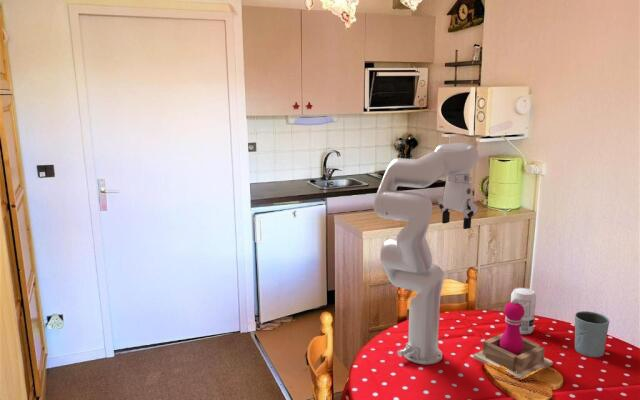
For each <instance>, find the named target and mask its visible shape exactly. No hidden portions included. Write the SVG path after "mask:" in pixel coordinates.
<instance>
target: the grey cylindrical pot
mask: <svg viewBox="0 0 640 400" xmlns="http://www.w3.org/2000/svg"><path fill="white" fill-rule="evenodd" d="M609 326H610V319H609V318H608V317H607V316H606V315H603V314H601V313H598V312H594V311H586V310H585V311H577V312H575V314H574V329H575V330H574V336H575V337H574V350H575V351H576V352H577V353H579V354H580V355H583V356H586V357H590V358H601V357H602V356H604V354H605V349H606V341H607V335H608V332H609Z"/></svg>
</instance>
